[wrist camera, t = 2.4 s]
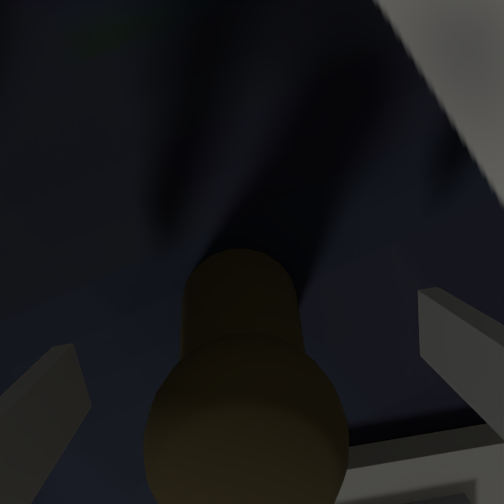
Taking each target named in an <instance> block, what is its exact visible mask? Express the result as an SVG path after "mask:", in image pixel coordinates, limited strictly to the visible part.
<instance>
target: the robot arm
mask: <svg viewBox="0 0 504 504" xmlns="http://www.w3.org/2000/svg"><path fill="white" fill-rule="evenodd" d="M418 311H419V339H420V356H421V357H422V358H423V359H424V360H425V361H426V362H427V363H428V364H429V365H430V366H431V367H432V368H433V369H434V370H435V371H436V372H437V373H438V374H439V375H440V376H441V377H442V378H443V379H444V380H445V381H446V382H447V383H448V384H449V385H450V386H451V387H452V388H453V389H454V390H455V391H456V392H457V393H458V394H459V395H460V396H461V397H462V398H463V399H464V400H465V401H466V402H467V403H468V404H469V405H470V406H471V407H472V408H473V409H474V410H475V411H476V412H477V413H478V414H479V415H480V416H481V417H482V418H483V419H484V420H485V422H486V423H487V424H488V425H489V426H490V427H491V428H492V429H493V430H494V431H495V432H496V433H497V434H498V435H499V436H500V437H501V438H502V439H503V440H504V325H502V324H501V323H499V322H497V321H495V320H494V319H492V318H490V317H488V316H487V315H485V314H483V313H482V312H480V311H478V310H476V309H475V308H473V307H471V306H470V305H468V304H466V303H464V302H463V301H461V300H459V299H457V298H456V297H454V296H452V295H451V294H449V293H447V292H445V291H444V290H442V289H440V288H438V287H435V288H429V289H422V290H418ZM91 407H92V405H91V402H90V398H89V395H88V392H87V388H86V385H85V382H84V378H83V375H82V372H81V368H80V365H79V362H78V358H77V355H76V352H75V348H74V345H73V343H72V344H66V345H59V346H53V347H52V348H51V349H50V350H49V351H48V352H46V353H45V354H44V355H43V356H42V357H41V358H40V359H39V360H38V361H37V362H36V363H35V364H34V365H33V366H32V367H31V368H30V369H28V370H27V371H26V372H25V373H24V374H23V375H22V376H21V377H20V378H19V379H18V380H17V381H16V382H15V383H14V384H13V385H12V386H10V387H9V388H8V389H7V390H6V391H5V392H4V393H3V394H2V395H1V396H0V504H31V503H32V501H33V500H34V498H35V497H36V495H37V493H38V492H39V490H40V489H41V487H42V485H43V484H44V482H45V481H46V479H47V477H48V476H49V474H50V472H51V471H52V469H53V468H54V466H55V464H56V463H57V461H58V460H59V458H60V456H61V455H62V453H63V452H64V450H65V448H66V447H67V445H68V444H69V442H70V440H71V439H72V437H73V436H74V434H75V432H76V431H77V429H78V428H79V426H80V424H81V423H82V421H83V420H84V418H85V416H86V415H87V413H88V412H89V410H90V408H91Z"/></svg>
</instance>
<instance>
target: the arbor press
mask: <svg viewBox="0 0 504 504" xmlns="http://www.w3.org/2000/svg"><path fill="white" fill-rule="evenodd" d="M334 504H504V440H503V439H502V438H501V437H500V436H499V435H498V434H497V433H496V432H495V431H494V430H493V429H492V428H491V427H490V426H489V425H488V424H481V425H475V426H469V427H463V428H457V429H452V430H446V431H440V432H434V433H428V434H422V435H416V436H410V437H404V438H398V439H392V440H386V441H381V442H375V443H369V444H363V445H357V446H351V447H349V461H348V468H347V471H346V475H345V478H344V481H343V484H342V486H341V489H340V491H339V494H338V496H337V498H336V501H335V503H334Z"/></svg>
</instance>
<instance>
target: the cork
mask: <svg viewBox="0 0 504 504" xmlns="http://www.w3.org/2000/svg"><path fill="white" fill-rule="evenodd" d="M143 454H144V462H145V470H146V478H147V482H148V484H149V487H150V489H151V491H152V493H153V496H154V498H155V499H156V501H157V503H158V504H334V503H335V501H336V498H337V496H338V494H339V491H340V489H341V486H342V484H343V481H344V478H345V475H346V471H347V468H348V461H349V432H348V424H347V419H346V417H345V414H344V411H343V408H342V405H341V402H340V399H339V396H338V394H337V392H336V390H335V388H334V386H333V384H332V382H331V381H330V380H329V378H328V377H327V376H326V375H325V374H324V372H323V371H322V370H321V369H320V367H319V366H318V365H317V364H316V363H315V361H314V360H313V359H311V358H310V357H309V356H308V355H307V354H306V353H305V349H304V342H303V335H302V328H301V322H300V315H299V308H298V302H297V295H296V291H295V288H294V285H293V282H292V279H291V277H290V275H289V274H288V273H287V272H286V270H285V269H284V268H283V267H282V265H281V264H280V263H279V262H277V261H276V260H274V259H273V258H271V257H270V256H268V255H267V254H265V253H262V252H259V251H255V250H251V249H247V248H243V249H227V250H225V251H222V252H219V253H216V254H214V255H211V256H210V257H208V258H207V259H206V260H205V261H203V262H202V263H201V264H199V265H198V266H197V267H196V268H195V270H194V271H193V273H192V274H191V276H190V277H189V279H188V280H187V282H186V286H185V290H184V294H183V297H182V316H181V339H180V361H179V363H178V364H177V365H176V366H175V367H174V368H173V369H172V371H171V372H170V374H169V375H168V377H167V378H166V379H165V381H164V382H163V384H162V385H161V387H160V388H159V390H158V391H157V393H156V395H155V398H154V400H153V403H152V406H151V409H150V412H149V416H148V420H147V424H146V428H145V432H144V445H143Z"/></svg>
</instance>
